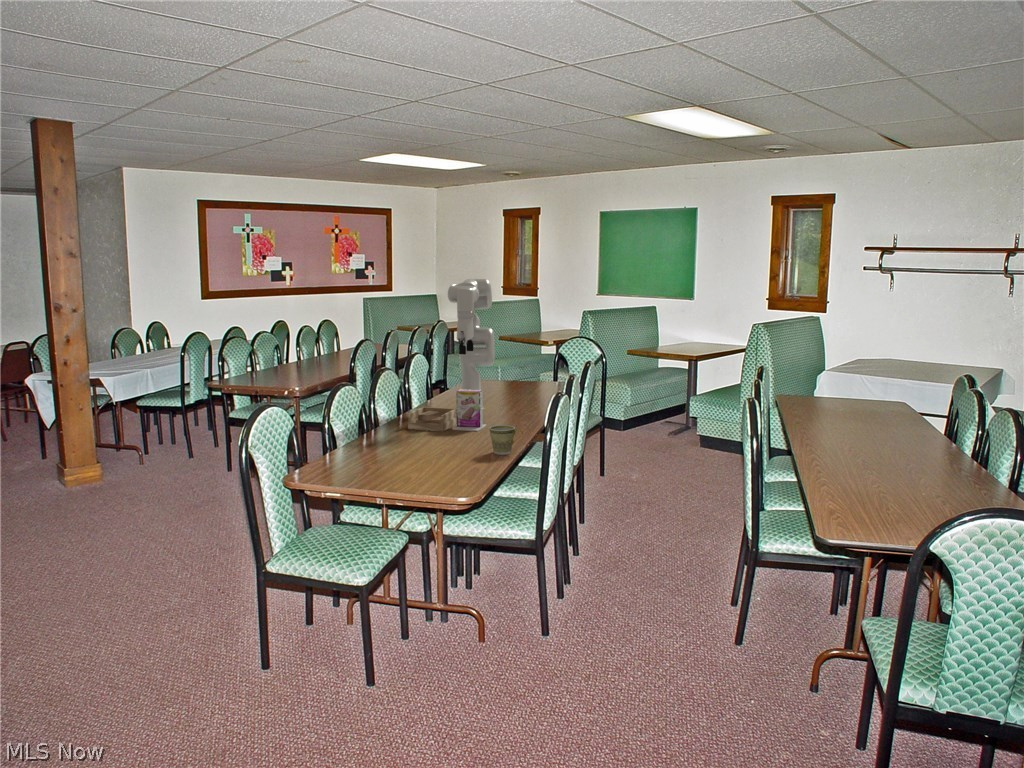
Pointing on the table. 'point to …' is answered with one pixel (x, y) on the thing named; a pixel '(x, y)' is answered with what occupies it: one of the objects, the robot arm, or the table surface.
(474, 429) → the mat
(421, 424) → the rack
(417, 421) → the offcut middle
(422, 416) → the offcut top
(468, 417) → the candy bar box
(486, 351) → the robot arm
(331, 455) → the table surface
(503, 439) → the ceramic cup
